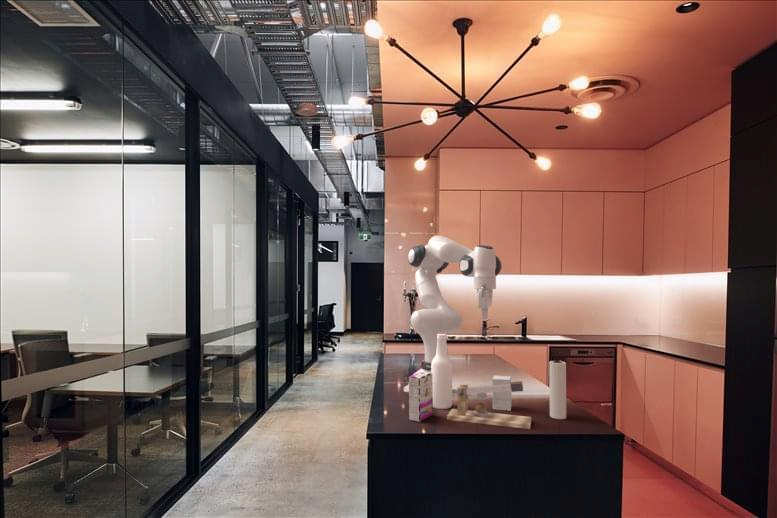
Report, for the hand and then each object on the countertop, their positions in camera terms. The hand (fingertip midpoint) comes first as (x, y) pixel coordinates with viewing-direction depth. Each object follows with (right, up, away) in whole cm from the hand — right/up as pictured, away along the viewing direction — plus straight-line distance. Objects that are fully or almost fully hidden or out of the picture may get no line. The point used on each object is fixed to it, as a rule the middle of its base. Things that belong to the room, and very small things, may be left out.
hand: (484, 318), depth 183 cm
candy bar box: (-27, -37, -10) cm, 47 cm away
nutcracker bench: (-1, -37, -13) cm, 39 cm away
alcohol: (-17, -38, +5) cm, 41 cm away
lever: (0, -28, -13) cm, 31 cm away
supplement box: (+8, -38, +4) cm, 39 cm away
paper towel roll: (+27, -37, -8) cm, 47 cm away
